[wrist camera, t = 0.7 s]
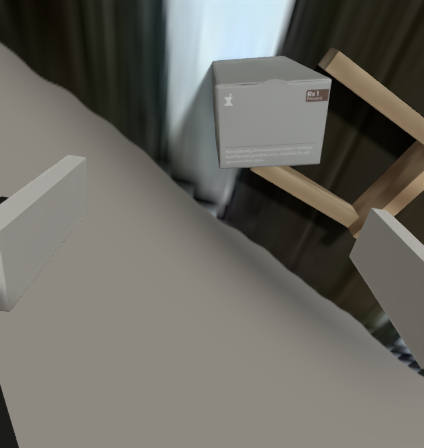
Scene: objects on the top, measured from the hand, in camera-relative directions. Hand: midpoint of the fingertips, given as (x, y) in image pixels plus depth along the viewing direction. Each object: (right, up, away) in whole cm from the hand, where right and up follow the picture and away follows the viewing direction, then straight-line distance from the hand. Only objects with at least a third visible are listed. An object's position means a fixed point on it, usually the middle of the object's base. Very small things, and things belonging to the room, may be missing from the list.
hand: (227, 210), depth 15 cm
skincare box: (+4, +15, +22) cm, 27 cm away
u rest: (+15, +9, +26) cm, 31 cm away
